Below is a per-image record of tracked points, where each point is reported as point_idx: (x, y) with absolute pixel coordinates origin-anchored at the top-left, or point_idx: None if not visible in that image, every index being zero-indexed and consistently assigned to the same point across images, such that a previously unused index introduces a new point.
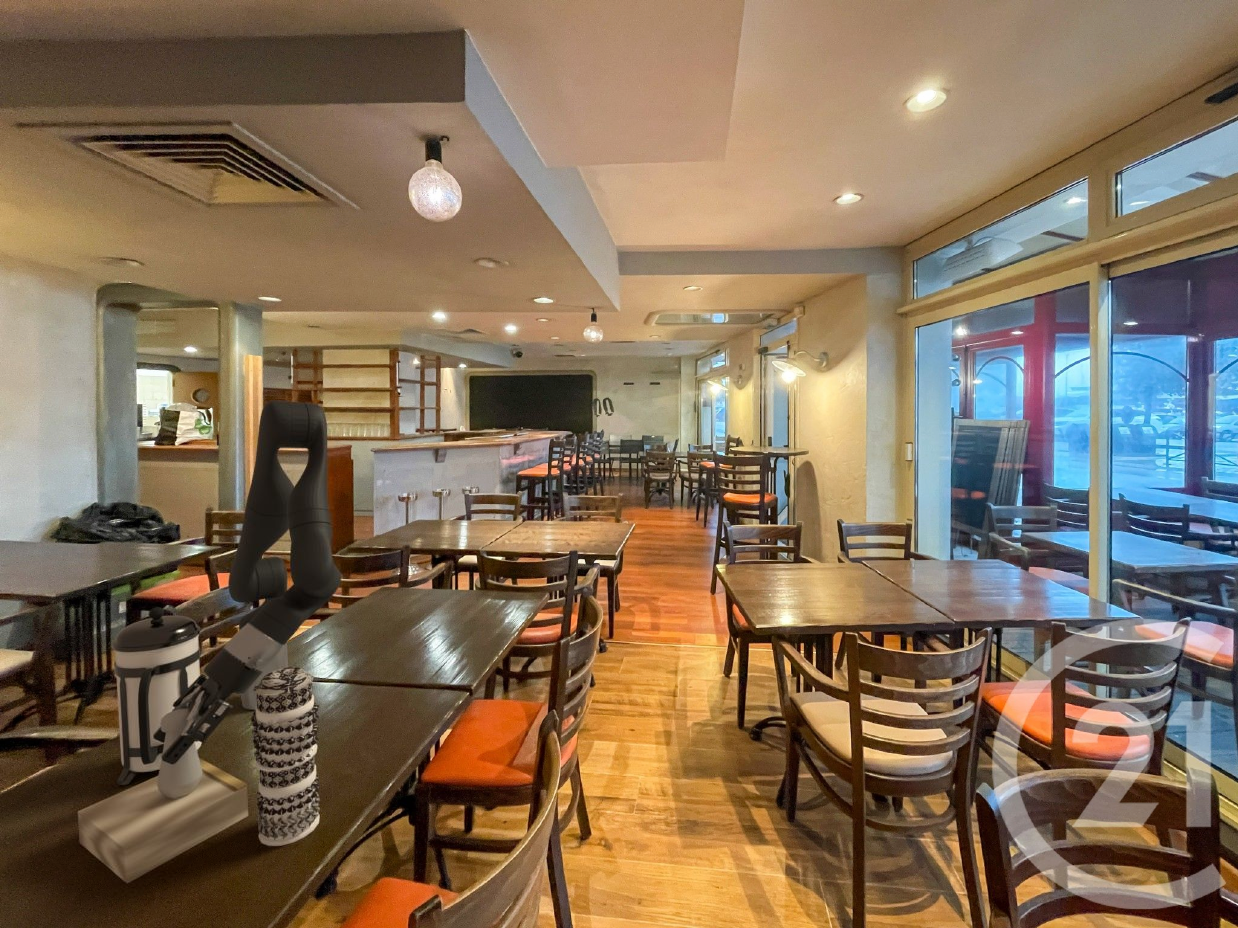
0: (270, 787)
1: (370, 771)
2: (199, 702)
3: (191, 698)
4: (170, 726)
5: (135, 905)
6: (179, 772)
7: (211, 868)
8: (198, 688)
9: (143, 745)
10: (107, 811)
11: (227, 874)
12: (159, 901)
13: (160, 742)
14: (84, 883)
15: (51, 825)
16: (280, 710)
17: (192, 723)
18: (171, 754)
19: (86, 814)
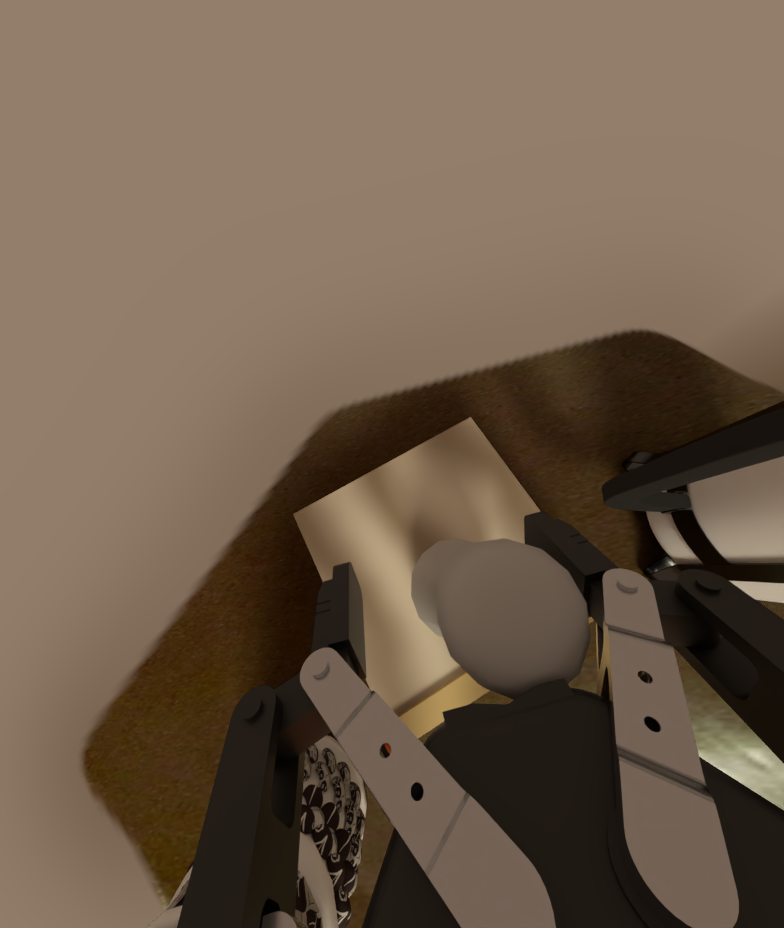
0: (182, 885)
1: None
2: (418, 841)
3: (615, 728)
4: (439, 587)
5: (254, 542)
6: (418, 595)
7: (270, 643)
8: (683, 872)
9: (622, 482)
10: (443, 462)
11: (236, 672)
12: (241, 572)
13: (700, 513)
14: (350, 469)
15: (531, 395)
16: None
17: (325, 720)
18: (319, 597)
19: (451, 432)
